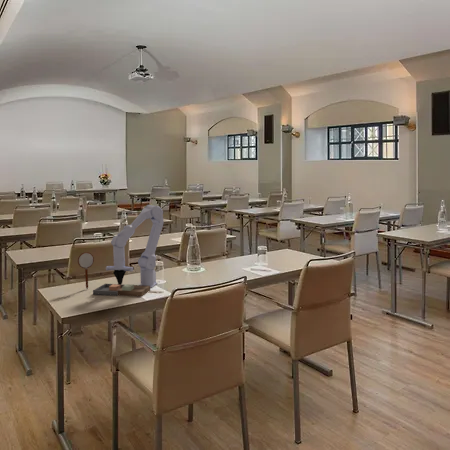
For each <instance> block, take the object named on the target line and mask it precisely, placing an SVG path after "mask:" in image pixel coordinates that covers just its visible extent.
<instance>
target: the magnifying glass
mask: <svg viewBox="0 0 450 450" xmlns="http://www.w3.org/2000/svg"><path fill="white" fill-rule="evenodd" d="M94 261H95V257H94V255H93V254H92V253H90V252H89V251H88V252H87V251H85V252H83V253H81V254H80V255H79V256H78V258H77V264H78V266H79V267H80V268H82V269H84V273H85V275H84V276H85V288H86V290H89V289H88V288H89V277H88V276H89V275H88V274H89V273H88V268H91V267H92V266H93V264H94Z"/></svg>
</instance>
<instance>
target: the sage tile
mask: <svg viewBox="0 0 450 450" xmlns="http://www.w3.org/2000/svg"><path fill="white" fill-rule="evenodd" d="M123 285H124V286H122V290H125V291H131V290H133V289H134V285H135V284H126V283H125V284H123Z"/></svg>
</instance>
